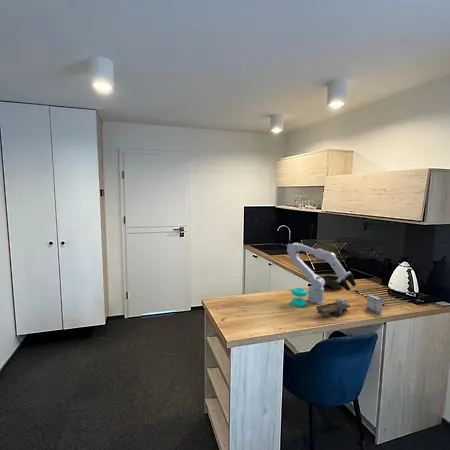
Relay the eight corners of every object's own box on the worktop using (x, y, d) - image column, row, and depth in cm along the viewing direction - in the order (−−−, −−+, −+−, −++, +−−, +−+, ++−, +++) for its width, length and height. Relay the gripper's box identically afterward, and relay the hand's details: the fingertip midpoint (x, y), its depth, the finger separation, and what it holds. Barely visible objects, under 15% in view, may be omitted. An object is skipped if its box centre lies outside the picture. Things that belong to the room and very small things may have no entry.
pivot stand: (321, 311, 187) (321, 305, 186) (335, 305, 197) (336, 299, 196) (337, 317, 178) (338, 311, 178) (351, 311, 188) (352, 305, 188)
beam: (315, 312, 179) (316, 305, 179) (338, 307, 196) (339, 301, 196) (326, 316, 174) (327, 309, 174) (349, 310, 190) (350, 304, 190)
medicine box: (366, 308, 194) (367, 295, 192) (371, 307, 195) (372, 294, 194) (376, 313, 186) (377, 299, 185) (381, 312, 188) (382, 298, 187)
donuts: (289, 290, 195) (294, 286, 203) (288, 305, 196) (294, 300, 204) (304, 293, 189) (309, 289, 198) (303, 308, 190) (308, 304, 199)
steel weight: (335, 304, 190) (335, 298, 190) (340, 303, 194) (341, 297, 194) (341, 307, 186) (342, 300, 186) (347, 305, 191) (348, 299, 191)
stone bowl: (347, 292, 224) (347, 280, 223) (312, 290, 232) (312, 278, 231) (346, 282, 247) (346, 271, 246) (314, 281, 255) (313, 270, 254)
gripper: (337, 270, 187) (351, 290, 183) (348, 263, 196) (362, 281, 192) (329, 275, 192) (342, 294, 188) (340, 267, 201) (353, 285, 197)
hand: (351, 288), depth 191 cm, fingers open, 7 cm apart
